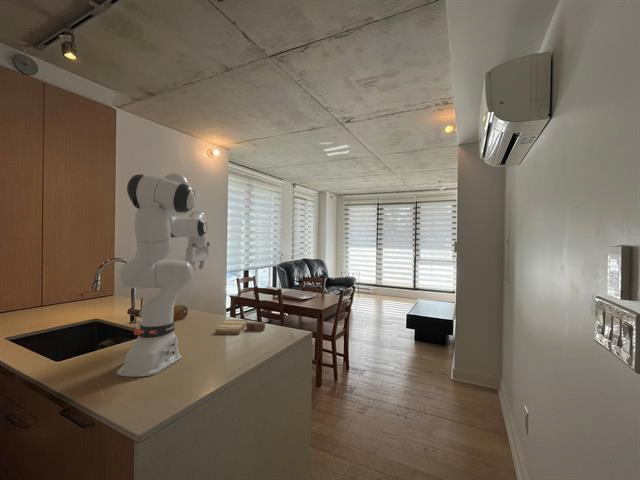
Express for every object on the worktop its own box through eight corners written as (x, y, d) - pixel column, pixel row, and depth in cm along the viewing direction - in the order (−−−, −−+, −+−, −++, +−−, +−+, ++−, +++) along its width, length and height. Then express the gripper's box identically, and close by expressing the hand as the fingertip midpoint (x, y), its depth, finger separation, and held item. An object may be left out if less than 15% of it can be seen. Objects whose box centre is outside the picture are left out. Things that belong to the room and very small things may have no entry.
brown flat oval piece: (161, 324, 160) (161, 308, 160) (159, 323, 162) (159, 308, 162) (188, 318, 172) (188, 304, 172) (185, 317, 174) (185, 303, 174)
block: (246, 330, 151) (263, 331, 151) (246, 324, 151) (263, 324, 151) (248, 328, 154) (265, 328, 154) (248, 322, 154) (265, 322, 154)
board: (239, 334, 145) (239, 329, 145) (215, 333, 145) (215, 328, 145) (247, 324, 161) (247, 320, 161) (226, 324, 161) (226, 319, 161)
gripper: (194, 243, 140) (194, 272, 140) (210, 243, 161) (210, 268, 161) (181, 243, 140) (181, 272, 140) (199, 243, 161) (199, 267, 161)
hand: (197, 270), depth 151 cm, fingers open, 8 cm apart
